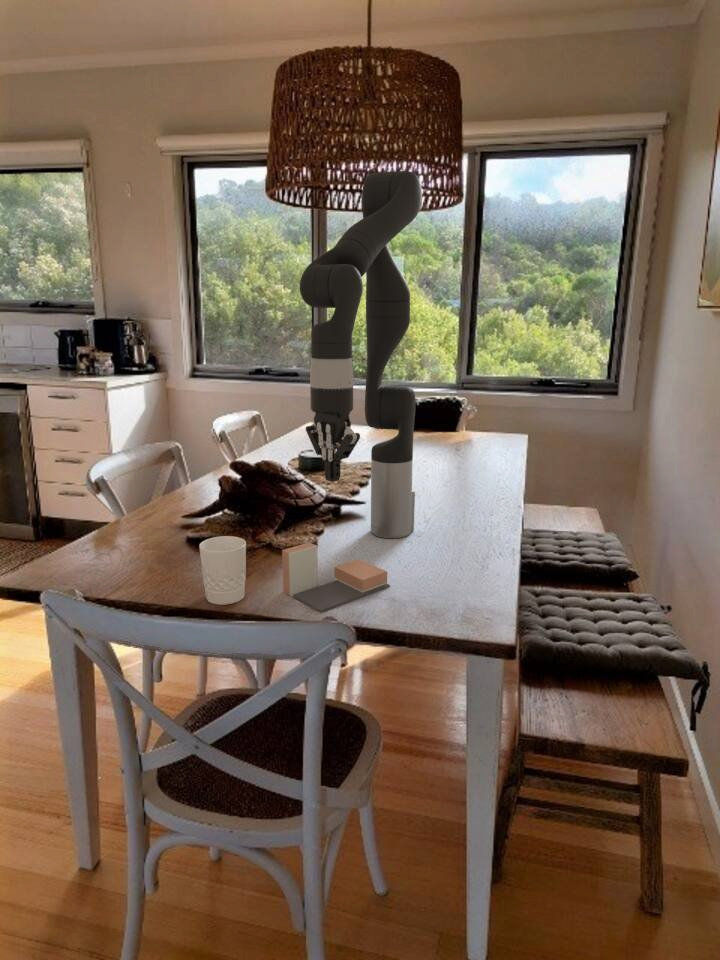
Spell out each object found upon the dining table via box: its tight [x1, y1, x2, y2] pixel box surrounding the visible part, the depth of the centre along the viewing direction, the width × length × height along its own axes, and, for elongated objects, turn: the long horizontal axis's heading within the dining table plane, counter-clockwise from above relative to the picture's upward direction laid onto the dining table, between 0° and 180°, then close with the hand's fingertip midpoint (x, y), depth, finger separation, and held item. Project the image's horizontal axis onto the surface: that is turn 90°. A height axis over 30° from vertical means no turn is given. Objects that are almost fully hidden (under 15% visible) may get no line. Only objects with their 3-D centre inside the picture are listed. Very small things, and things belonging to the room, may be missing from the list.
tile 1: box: [281, 542, 319, 597], centre depth 115 cm, size 6×2×8 cm, turn 131°
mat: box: [292, 579, 391, 614], centre depth 115 cm, size 16×8×1 cm, turn 131°
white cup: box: [199, 535, 247, 606], centre depth 111 cm, size 8×8×10 cm
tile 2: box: [333, 558, 388, 593], centre depth 118 cm, size 6×2×8 cm
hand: (332, 480), depth 116 cm, fingers closed
